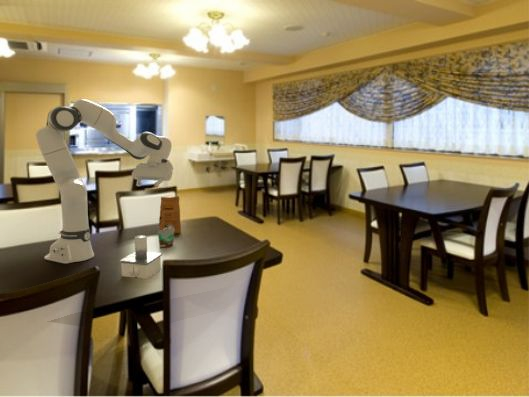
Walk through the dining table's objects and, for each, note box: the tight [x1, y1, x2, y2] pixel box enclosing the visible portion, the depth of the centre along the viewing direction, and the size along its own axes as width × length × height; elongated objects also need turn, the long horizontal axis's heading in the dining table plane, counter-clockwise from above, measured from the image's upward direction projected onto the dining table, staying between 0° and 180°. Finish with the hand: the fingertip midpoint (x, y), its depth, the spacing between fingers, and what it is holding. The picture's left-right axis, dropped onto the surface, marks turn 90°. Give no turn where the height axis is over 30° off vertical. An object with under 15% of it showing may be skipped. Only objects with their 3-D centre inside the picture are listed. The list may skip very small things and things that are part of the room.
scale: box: [120, 256, 162, 280], centre depth 172 cm, size 12×12×6 cm
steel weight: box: [134, 234, 148, 259], centre depth 171 cm, size 5×5×9 cm
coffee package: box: [158, 195, 182, 235], centre depth 234 cm, size 10×12×22 cm
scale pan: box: [119, 251, 163, 265], centre depth 171 cm, size 13×13×1 cm
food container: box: [157, 225, 175, 249], centre depth 209 cm, size 12×6×10 cm, turn 168°
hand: (147, 185), depth 193 cm, fingers open, 8 cm apart
